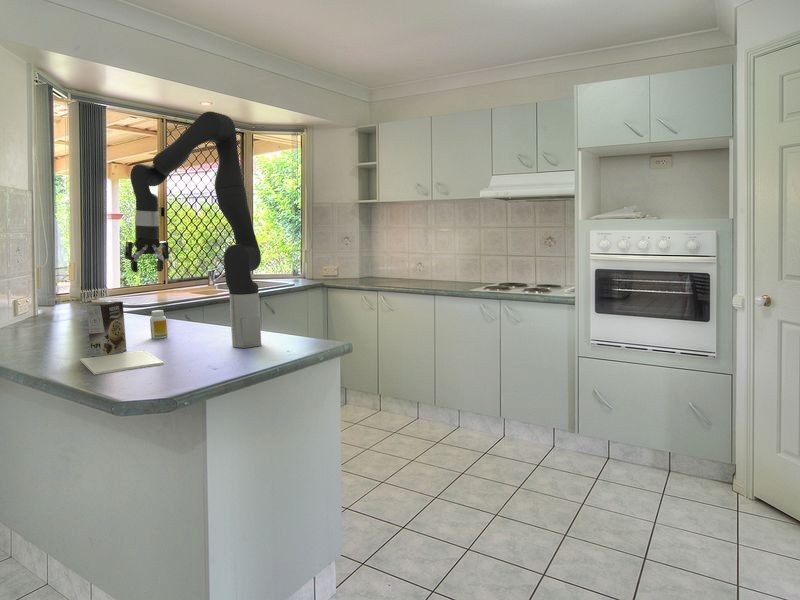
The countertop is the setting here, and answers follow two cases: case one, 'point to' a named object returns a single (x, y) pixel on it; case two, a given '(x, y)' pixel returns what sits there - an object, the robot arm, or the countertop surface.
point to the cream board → (120, 362)
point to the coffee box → (106, 328)
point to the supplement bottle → (158, 325)
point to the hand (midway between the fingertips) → (147, 271)
